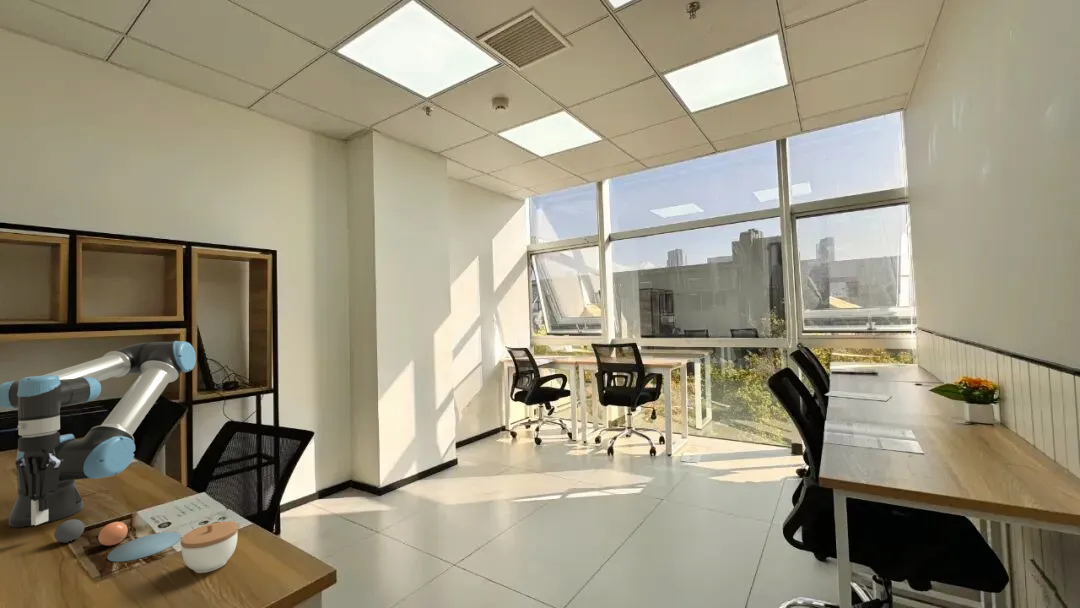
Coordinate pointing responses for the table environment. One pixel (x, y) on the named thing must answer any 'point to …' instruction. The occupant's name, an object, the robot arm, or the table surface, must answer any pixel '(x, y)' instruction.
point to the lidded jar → (209, 546)
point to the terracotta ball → (113, 533)
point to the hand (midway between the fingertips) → (39, 522)
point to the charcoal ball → (69, 530)
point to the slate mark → (144, 546)
